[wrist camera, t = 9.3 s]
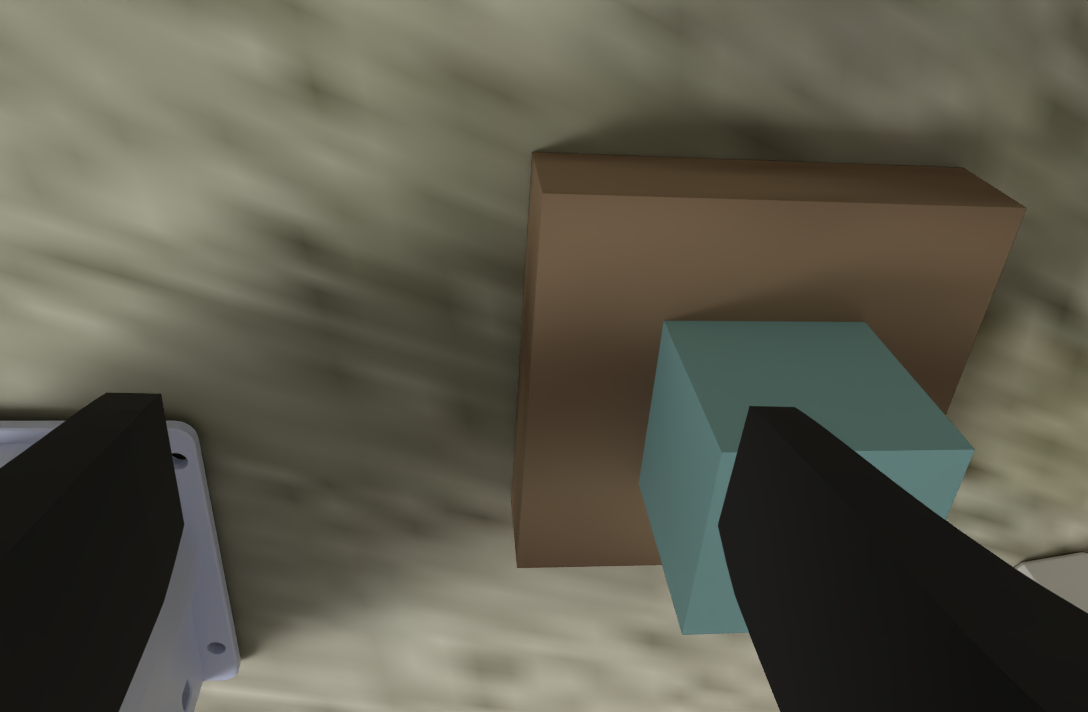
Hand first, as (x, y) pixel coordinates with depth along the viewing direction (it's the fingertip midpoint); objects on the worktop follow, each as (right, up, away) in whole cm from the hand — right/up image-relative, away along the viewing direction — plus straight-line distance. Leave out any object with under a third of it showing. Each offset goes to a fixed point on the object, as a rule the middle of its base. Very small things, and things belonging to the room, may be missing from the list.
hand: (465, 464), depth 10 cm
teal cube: (+6, 0, +9) cm, 10 cm away
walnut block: (+5, +1, +11) cm, 12 cm away
